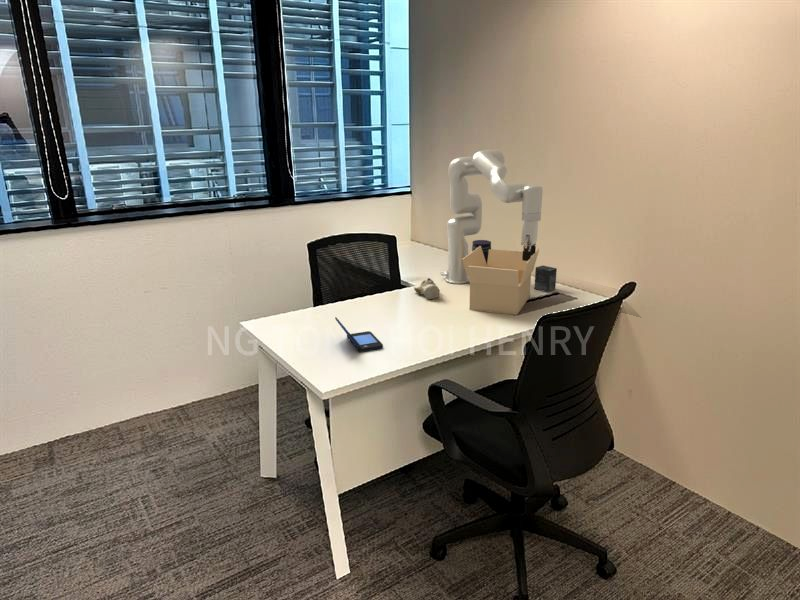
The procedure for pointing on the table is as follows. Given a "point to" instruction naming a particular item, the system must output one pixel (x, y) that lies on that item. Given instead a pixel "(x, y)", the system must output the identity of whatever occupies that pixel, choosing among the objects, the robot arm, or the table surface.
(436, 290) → the ceramic sculpture
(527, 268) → the flap
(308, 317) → the table surface
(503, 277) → the carton
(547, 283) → the box
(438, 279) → the table surface
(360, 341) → the handheld device with antenna
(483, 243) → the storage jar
